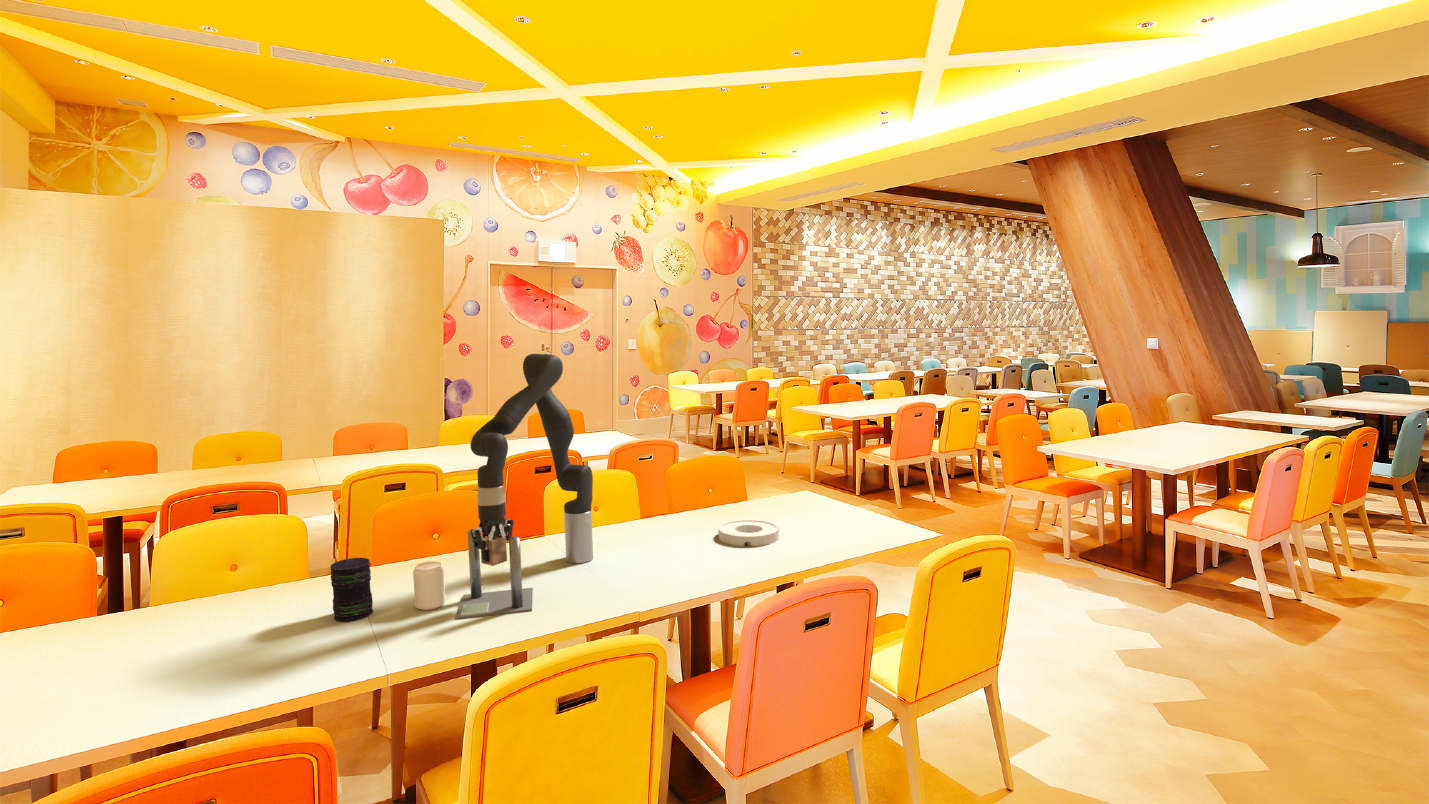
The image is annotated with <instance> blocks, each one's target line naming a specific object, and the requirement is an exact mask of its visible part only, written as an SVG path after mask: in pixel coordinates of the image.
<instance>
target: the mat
mask: <svg viewBox="0 0 1429 804" xmlns="http://www.w3.org/2000/svg"><path fill="white" fill-rule="evenodd" d="M533 590H534V589H533V587H526V588H524V587H522V597H523V607H521V608H516V609H515V608H512V597H511V589H505V590H495V591H487V592H482V597H481V598H478V599H472V598H471V593H468V594H467V593H466V594H463V595H462V598H461V600H460V604H459V608H458V611H457V615H456V620H462V619H472V618H480V617H490V616H498V615H506V614H507V615H508V614H516V613H523V612H525V613H526V612H532V611H533ZM481 603H485V604H486V603H488V605H487V604H486V605H487V607H488V608H487V612H486V610H485V612H483V611H482V610H483V608H481V607H480V608H481V609H482V610H481V611H482V612H481V611H479V613H474V612H475V610H476V609H477V608H475V606H476V605H477V604H478V606H479V605H481ZM470 604H472V605H473V604H476V605H473V607H474V608H472V609H473V610H474V609H475V610H474V612H473V613H472V612H471V613H470V611H469V610H471V608H470V609H469V608H466V610H468V611H466V610H465V607H463V606H467V607H469V605H470ZM472 605H471V606H472ZM482 605H484V604H482ZM486 605H484V606H486ZM471 606H470V607H471ZM482 607H483V606H482ZM463 608H464V612H462V610H463ZM480 608H479V610H480ZM484 608H485V607H484ZM485 609H486V608H485ZM473 610H471V611H473ZM465 611H466V612H468V614H467V613H465ZM476 611H477V610H476ZM461 612H462V613H461ZM463 613H464V614H463Z"/></svg>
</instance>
